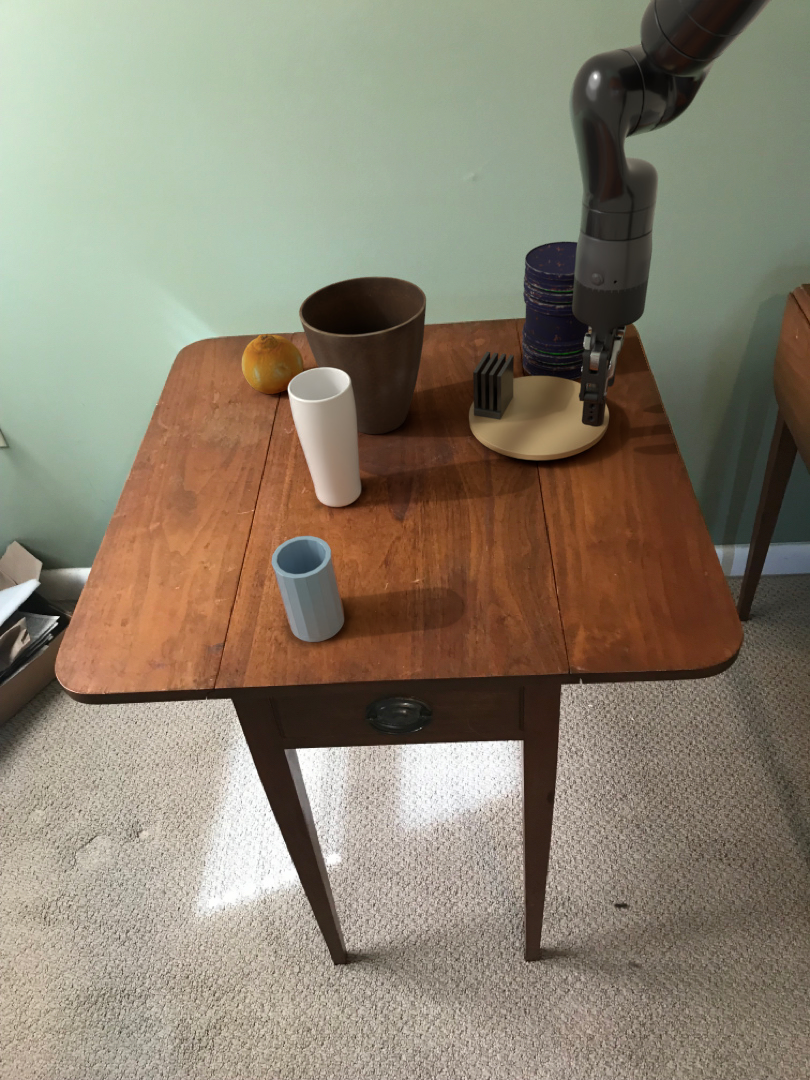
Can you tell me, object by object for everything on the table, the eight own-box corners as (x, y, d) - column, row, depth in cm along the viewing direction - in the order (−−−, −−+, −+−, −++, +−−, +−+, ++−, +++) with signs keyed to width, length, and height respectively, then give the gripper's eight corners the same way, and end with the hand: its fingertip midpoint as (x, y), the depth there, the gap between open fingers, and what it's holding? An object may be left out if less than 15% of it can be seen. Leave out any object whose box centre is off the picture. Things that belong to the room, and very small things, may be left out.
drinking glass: (373, 476, 92) (357, 366, 81) (362, 514, 87) (344, 402, 76) (318, 475, 93) (295, 366, 82) (304, 512, 88) (279, 401, 78)
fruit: (264, 398, 102) (273, 336, 99) (225, 385, 106) (233, 326, 104) (309, 400, 108) (318, 343, 106) (270, 388, 113) (278, 333, 110)
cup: (333, 593, 78) (318, 528, 72) (352, 629, 75) (339, 564, 68) (282, 612, 77) (264, 548, 71) (300, 650, 73) (282, 586, 67)
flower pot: (297, 431, 100) (272, 317, 89) (367, 376, 108) (352, 266, 97) (388, 466, 93) (374, 347, 82) (456, 405, 101) (451, 290, 90)
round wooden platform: (449, 445, 92) (446, 397, 88) (493, 373, 103) (493, 326, 99) (590, 472, 87) (595, 422, 82) (621, 391, 98) (627, 343, 93)
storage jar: (520, 381, 104) (523, 275, 94) (522, 344, 111) (524, 242, 101) (596, 381, 102) (607, 273, 92) (592, 344, 109) (602, 239, 99)
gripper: (639, 305, 74) (621, 443, 85) (657, 245, 83) (639, 375, 94) (561, 299, 76) (553, 433, 87) (587, 241, 85) (578, 369, 96)
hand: (598, 403), depth 91 cm, fingers open, 8 cm apart
